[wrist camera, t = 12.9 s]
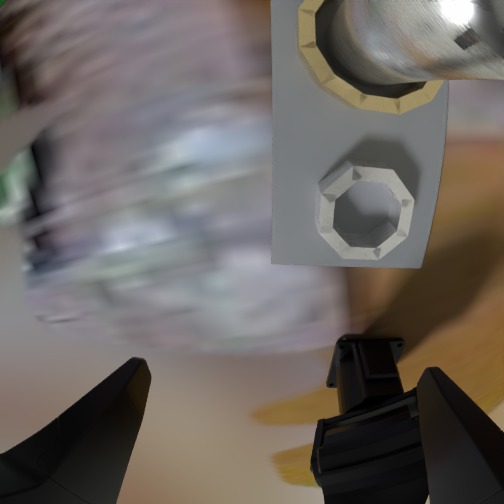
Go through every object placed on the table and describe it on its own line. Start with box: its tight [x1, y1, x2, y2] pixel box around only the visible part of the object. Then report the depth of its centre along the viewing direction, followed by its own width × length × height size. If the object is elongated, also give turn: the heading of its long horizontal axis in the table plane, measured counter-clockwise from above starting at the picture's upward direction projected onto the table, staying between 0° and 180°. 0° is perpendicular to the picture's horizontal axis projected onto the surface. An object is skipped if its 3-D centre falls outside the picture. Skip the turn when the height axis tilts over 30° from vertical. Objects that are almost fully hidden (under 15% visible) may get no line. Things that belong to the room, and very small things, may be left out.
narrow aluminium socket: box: [315, 159, 415, 260], centre depth 17 cm, size 6×6×2 cm
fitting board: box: [271, 0, 448, 268], centre depth 16 cm, size 19×11×1 cm, turn 1°
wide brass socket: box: [296, 0, 444, 115], centre depth 12 cm, size 8×8×2 cm
